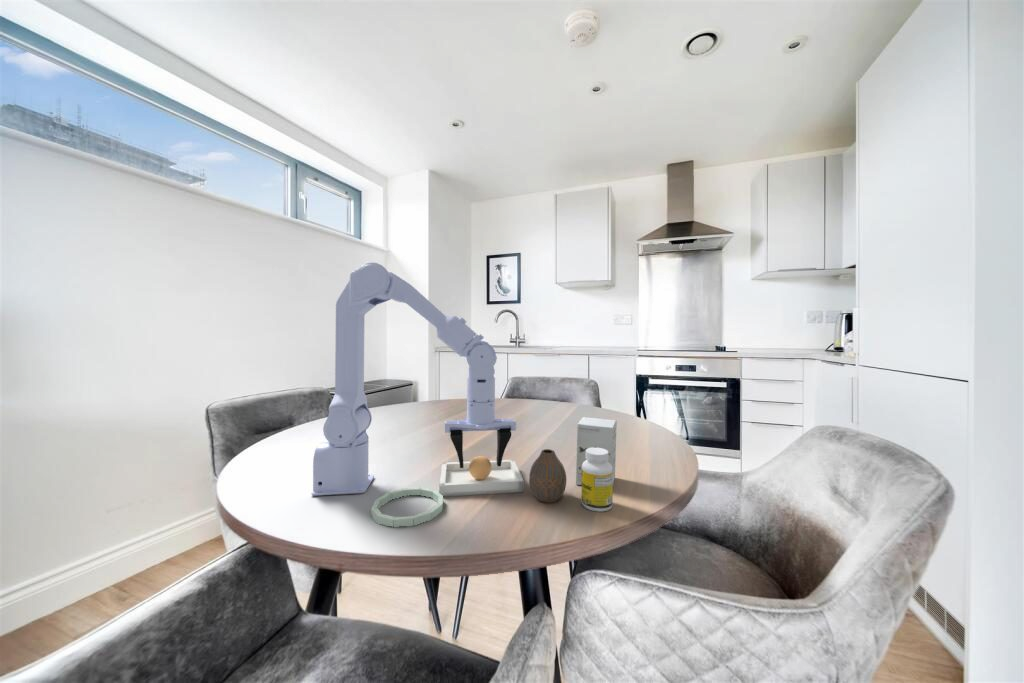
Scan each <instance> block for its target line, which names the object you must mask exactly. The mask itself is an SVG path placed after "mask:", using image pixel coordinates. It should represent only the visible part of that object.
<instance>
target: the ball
mask: <svg viewBox="0 0 1024 683" xmlns="http://www.w3.org/2000/svg"><path fill="white" fill-rule="evenodd" d="M490 461H491V460H490V459H488V457H486V456H483V455H477V456H475V457H473V459H472V460H470V462H471V463H470V465H469V471H470V474H471V475H472V476H473V477H474V478H475V479H479V480H481V479H485V478H486V477H488V476H489V474H490V472H491V463H490Z"/></svg>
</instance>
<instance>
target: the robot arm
mask: <svg viewBox="0 0 1024 683" xmlns="http://www.w3.org/2000/svg"><path fill="white" fill-rule="evenodd" d="M390 300H392V301H395V302H398V303H403V304H406V305H408V307H410V308H411V309H413V310H414V312H416V313H418V314H419V315H420V316H421V317H423V318H424V319H425V320H426V321H428V322H429V323H430V324H431V325H433V326H434V327H435V328H436V337H437V338H438V339H439V340H441V342H443V343H444V344H445V345H447V347H449V348H450V349H451V350H452V351H453V352H454V353H456V354H457V355H458V356H459V357H461V358H462V357H464V358H466V361H467V364H468V375H467V376H468V377H467V378H466V380H467V381H466V384H467V385H466V388H467V389H466V418H465V419H454V420H445V421H444V433H445V434H447V433H449V434H450V435H449V436H450V440H451V442H452V444H453V446H454V448H455V451H456V454H457V458H458V462H459V463H460V468H463V462H464V454H463V453H464V452H463V451H464V448H463V444H464V441H463V440H464V438H463V432H476V431H477V432H478V431H479V432H480V431H483V432H484V431H496V438H497V441H496V442H497V443H496V444H497V446H496V447H497V449H496V460H497V466H501V462H502V460H503V457H504V453H505V450H506V448H507V446H508V444H509V442H510V439H511V438H512V431H517V420H515V418H510V419H509V418H496V417H495V414H496V413H495V412H496V406H495V405H496V404H495V403H496V402H495V400H496V378H495V370H496V369H495V365H496V363H497V359H498V356H497V353H496V350H495V348H494V347H493V346H492V345H491V344H490V343H488V342H487V341H484V340H483V339H484V337H485V336H483V335H482V334H481V333H480V334H477V332H475V331H474V330H473V329H472V328H471V327H469V326H468V325H467V324H466V323H467V320H465V318H463V317H460V318H459V317H458V316H457V315H450V316H448V315H445V314H444V313H443V311H441V310H439V309H438V307H437V306H435V305H434V304H433V303H432V302H430V300H428V299H427V298H426V297H425V296H424V295H423V294H422V293H421V292H420V291H418V289H416V287H414V286H413V285H411V283H409V282H407V281H406V280H404V279H403V278H401V277H399V276H398V275H396V274H395V273H393V272H391V271H388V270H387V268H385V267H384V266H383V265H382V264H380V263H377V262H366V263H363V265H361V266H359V267H358V268H356V269H354V270H353V271H351V273H350V276H349V279H348V282H347V284H346V286H344V289H343V291H342V292H341V293H340V295H339V296H338V298H337V300H336V304H335V352H334V353H335V357H334V358H335V360H334V362H335V363H334V364H335V365H334V366H335V368H334V371H335V372H334V374H335V378H334V379H335V380H334V382H335V383H334V384H335V386H334V387H335V388H334V395H333V398H332V400H331V402H330V404H329V407H328V415H327V418H326V420H325V422H324V423H323V428H322V431H323V435H324V437H325V440H326V441H325V442H324V441H323V442H320V443H318V445H317V446H316V448H315V450H314V454H313V460H312V492H311V497H312V496H314V497H315V496H329V495H330V496H331V495H333V496H334V495H347V494H348V495H350V494H353V495H354V494H364V493H365V492H366V491H367V489H368V487H369V486H370V485H371V483H372V481H373V479H374V478H375V475H374V474H369V446H370V445H369V442H370V441H369V439H370V438H369V434H368V433H367V430H368V429H369V427H370V426H371V424H372V421H373V420H372V418H373V417H372V414H371V411H370V409H369V407H368V397H367V396H366V393H365V316H366V314H367V313H368V312H370V311H371V310H373V309H374V308H375V307H376V306H378V305H380V304H382V303H385V302H389V301H390Z"/></svg>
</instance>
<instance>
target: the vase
mask: <svg viewBox="0 0 1024 683" xmlns="http://www.w3.org/2000/svg"><path fill="white" fill-rule="evenodd" d="M530 467H531V468H530V470H529V474H528V481H529V488H530V491H531V493H532V494H533V496H534V497H535V498H536V499H537V500H538V501H539V502H542V503H548V504H549V503H551V504H552V503H555V502H557V501H559V500H560V499H561V498H562V497H563V495H564V493H565V491H566V488H567V472H566V469H565V467H564V464H563V463H562V462H561V460H560V459H559V457H558V456H557V455H556V452H555V450H553V449H550V448H549V449H548V448H546V449H542V450H541V452H540V454H539V456H538V457H537V458H536V459H535V461H534V462H533V463H532V465H531V466H530Z"/></svg>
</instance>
